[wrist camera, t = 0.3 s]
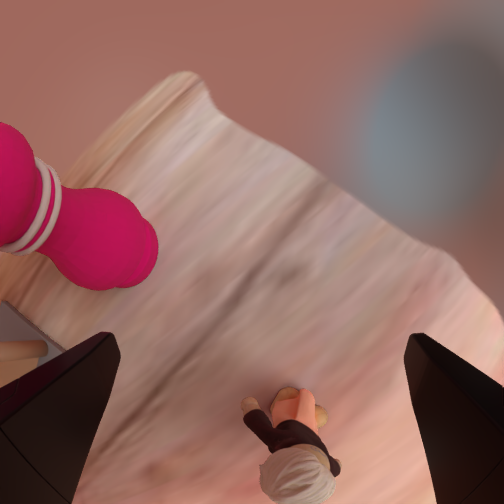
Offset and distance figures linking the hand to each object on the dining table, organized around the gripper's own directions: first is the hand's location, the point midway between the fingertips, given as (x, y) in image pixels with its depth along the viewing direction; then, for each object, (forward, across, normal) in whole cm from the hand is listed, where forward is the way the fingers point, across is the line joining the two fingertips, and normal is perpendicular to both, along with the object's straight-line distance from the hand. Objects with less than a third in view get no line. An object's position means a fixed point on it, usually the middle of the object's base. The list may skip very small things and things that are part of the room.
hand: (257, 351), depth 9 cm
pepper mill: (+16, +12, +3) cm, 20 cm away
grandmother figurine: (+9, -2, +14) cm, 17 cm away
